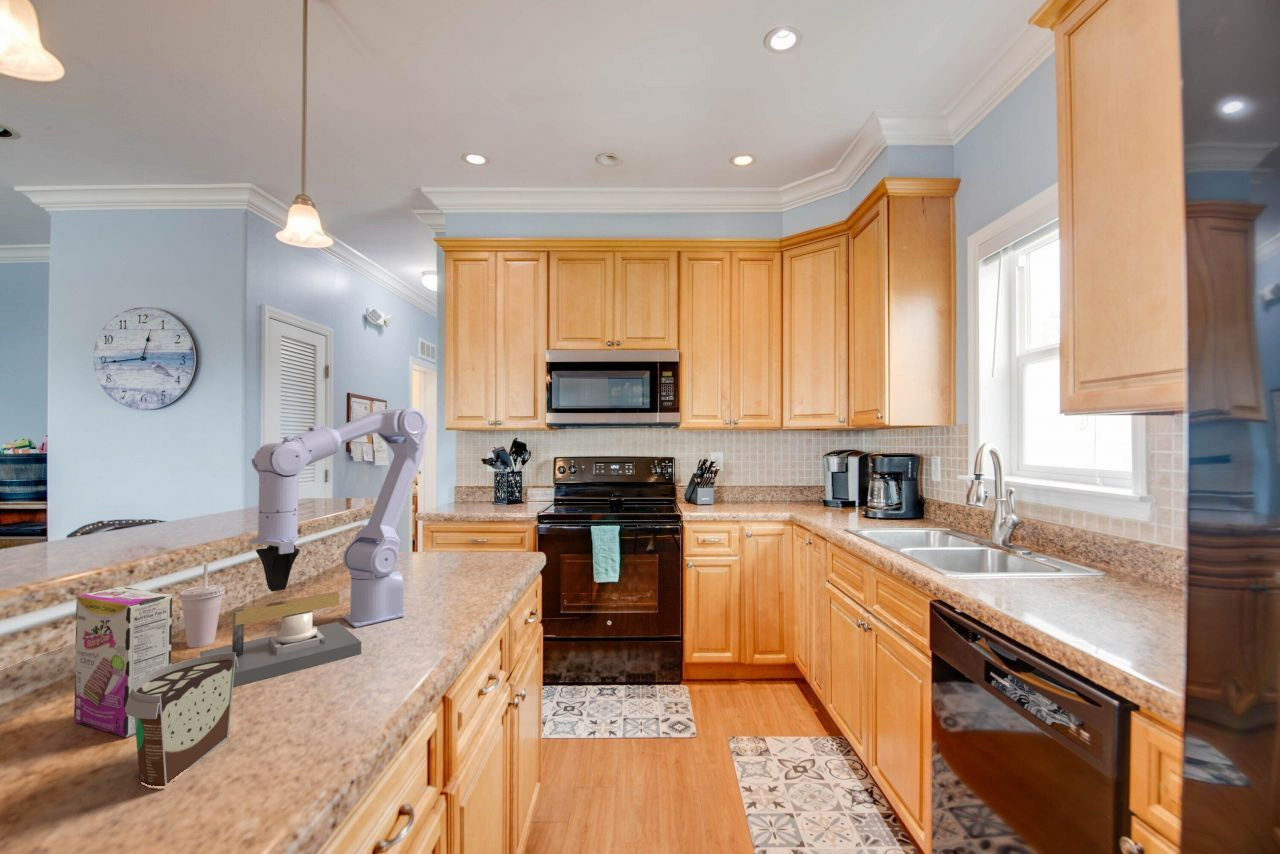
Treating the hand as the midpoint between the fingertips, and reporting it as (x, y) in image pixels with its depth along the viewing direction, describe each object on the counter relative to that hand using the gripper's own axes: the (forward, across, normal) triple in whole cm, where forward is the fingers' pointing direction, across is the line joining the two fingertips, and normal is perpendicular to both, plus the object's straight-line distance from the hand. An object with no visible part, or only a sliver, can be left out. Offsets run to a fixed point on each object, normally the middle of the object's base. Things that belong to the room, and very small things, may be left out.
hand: (277, 589), depth 91 cm
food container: (+11, +30, -15) cm, 36 cm away
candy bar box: (+11, +14, -19) cm, 26 cm away
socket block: (+10, +6, 0) cm, 12 cm away
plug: (+8, +6, +2) cm, 10 cm away
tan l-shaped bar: (+8, +5, +1) cm, 10 cm away
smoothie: (+11, -12, -9) cm, 19 cm away
